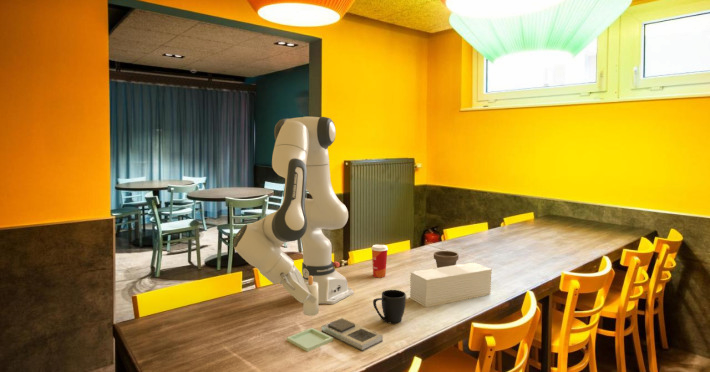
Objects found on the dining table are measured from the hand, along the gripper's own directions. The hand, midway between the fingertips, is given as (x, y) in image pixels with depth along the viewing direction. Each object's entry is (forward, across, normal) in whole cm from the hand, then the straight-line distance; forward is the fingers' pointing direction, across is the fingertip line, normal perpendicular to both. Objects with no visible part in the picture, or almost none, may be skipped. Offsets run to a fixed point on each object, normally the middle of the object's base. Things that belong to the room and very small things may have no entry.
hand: (312, 297), depth 129 cm
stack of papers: (+54, +25, -31) cm, 67 cm away
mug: (+30, +8, -9) cm, 32 cm away
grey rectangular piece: (+18, -1, +2) cm, 19 cm away
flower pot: (+62, +50, -39) cm, 89 cm away
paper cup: (+40, +56, -17) cm, 71 cm away
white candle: (+3, 0, +4) cm, 5 cm away
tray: (+9, 0, +11) cm, 14 cm away
